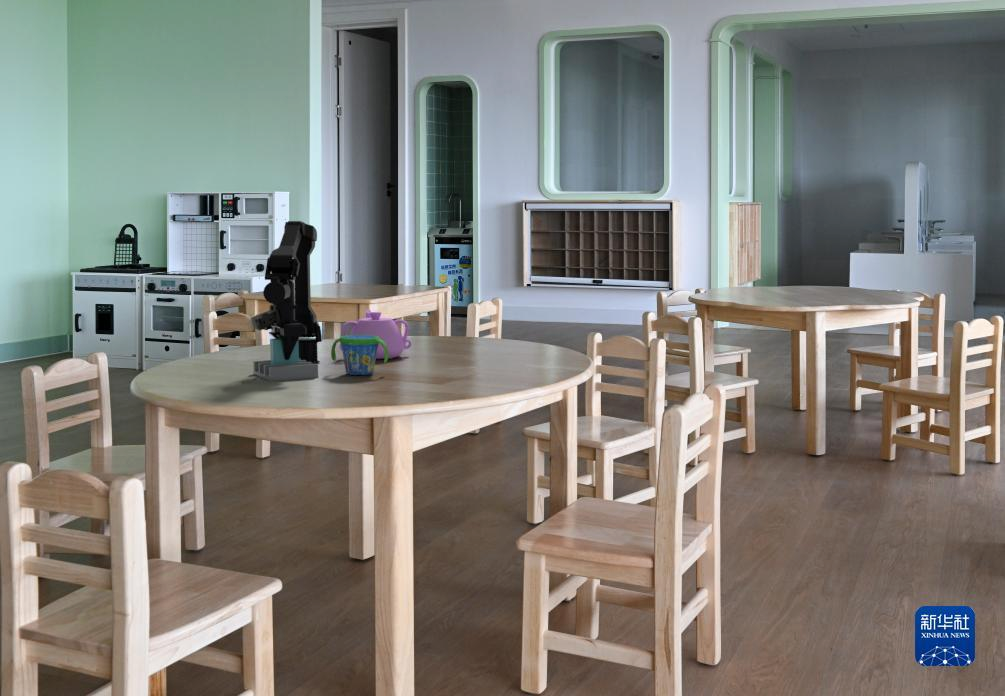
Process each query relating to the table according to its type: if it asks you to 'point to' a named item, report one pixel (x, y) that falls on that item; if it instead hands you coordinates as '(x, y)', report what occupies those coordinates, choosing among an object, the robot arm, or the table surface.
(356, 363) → the snack cup
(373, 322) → the teapot
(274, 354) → the tall teal box
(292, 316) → the robot arm
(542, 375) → the table surface
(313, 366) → the dish rack
